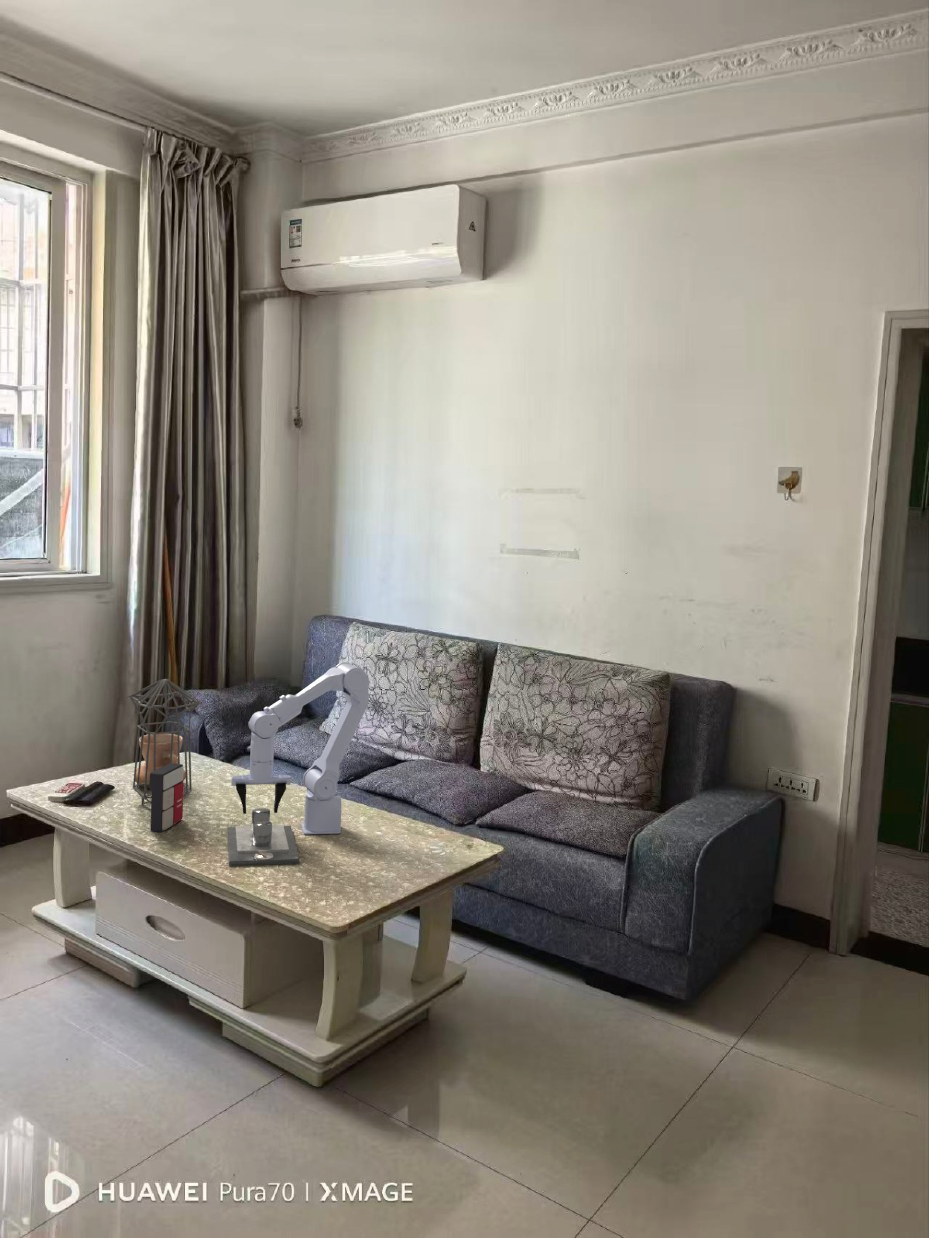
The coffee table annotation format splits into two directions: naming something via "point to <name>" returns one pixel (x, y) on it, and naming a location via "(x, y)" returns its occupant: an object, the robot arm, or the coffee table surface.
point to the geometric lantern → (159, 685)
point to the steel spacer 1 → (260, 815)
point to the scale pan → (246, 846)
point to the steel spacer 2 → (262, 833)
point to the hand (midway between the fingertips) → (260, 812)
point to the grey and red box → (166, 796)
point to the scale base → (261, 857)
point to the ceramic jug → (158, 754)
